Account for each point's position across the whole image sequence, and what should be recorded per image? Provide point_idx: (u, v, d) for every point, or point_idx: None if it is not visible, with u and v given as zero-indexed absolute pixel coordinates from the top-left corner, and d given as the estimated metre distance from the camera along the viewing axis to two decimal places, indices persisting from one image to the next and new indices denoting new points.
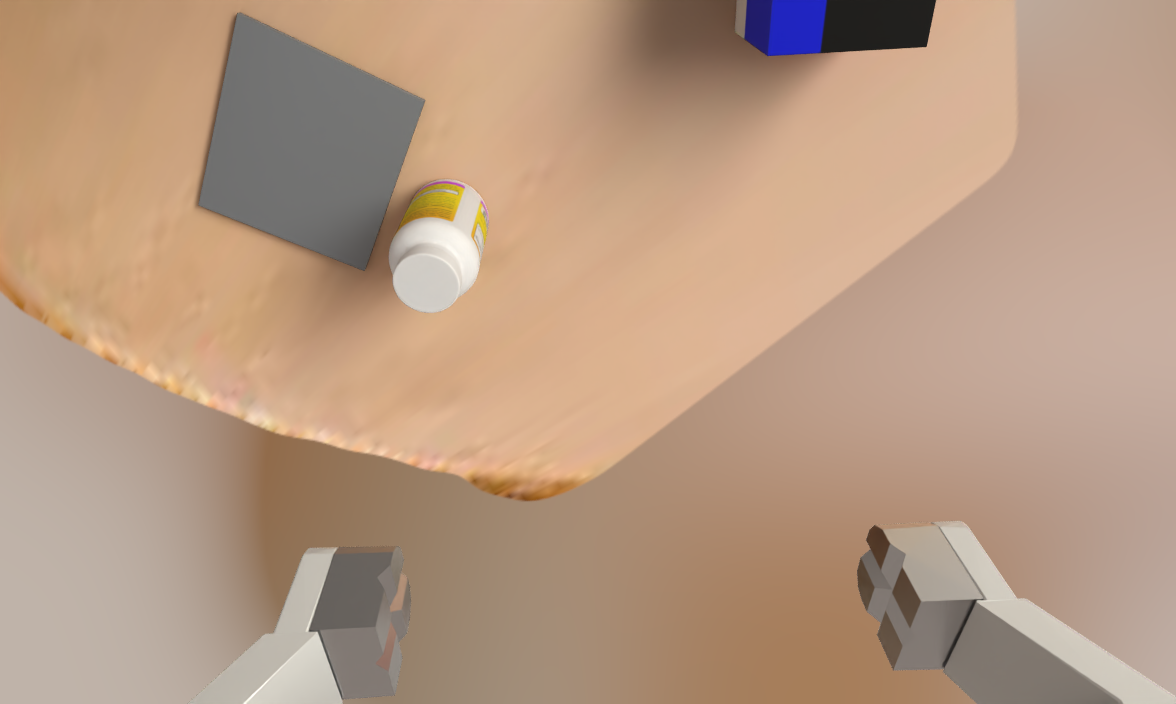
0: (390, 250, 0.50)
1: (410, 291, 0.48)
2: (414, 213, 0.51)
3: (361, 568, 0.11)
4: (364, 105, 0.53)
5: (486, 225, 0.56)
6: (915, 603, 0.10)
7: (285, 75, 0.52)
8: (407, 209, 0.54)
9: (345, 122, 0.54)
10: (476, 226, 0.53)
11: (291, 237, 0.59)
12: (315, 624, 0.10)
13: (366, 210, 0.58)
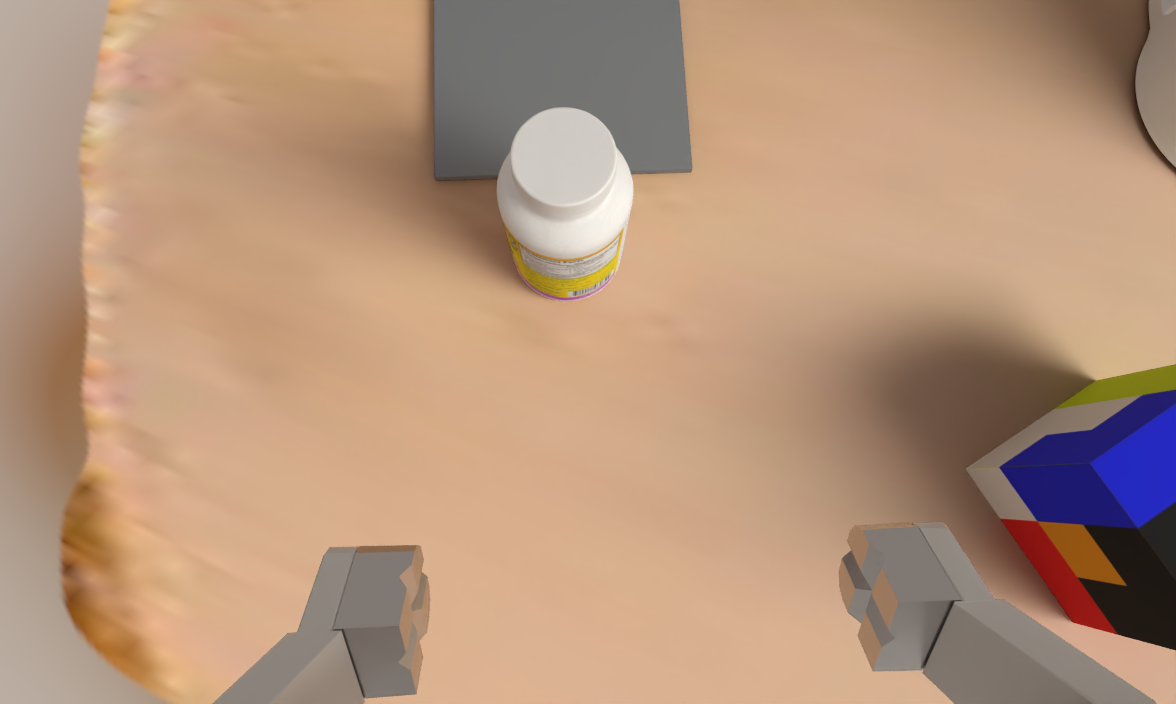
0: None
1: (539, 138, 0.30)
2: None
3: (383, 567, 0.11)
4: (651, 111, 0.44)
5: (596, 284, 0.39)
6: (893, 604, 0.10)
7: (639, 27, 0.45)
8: None
9: (621, 98, 0.44)
10: (618, 246, 0.36)
11: (440, 81, 0.44)
12: (339, 623, 0.10)
13: None
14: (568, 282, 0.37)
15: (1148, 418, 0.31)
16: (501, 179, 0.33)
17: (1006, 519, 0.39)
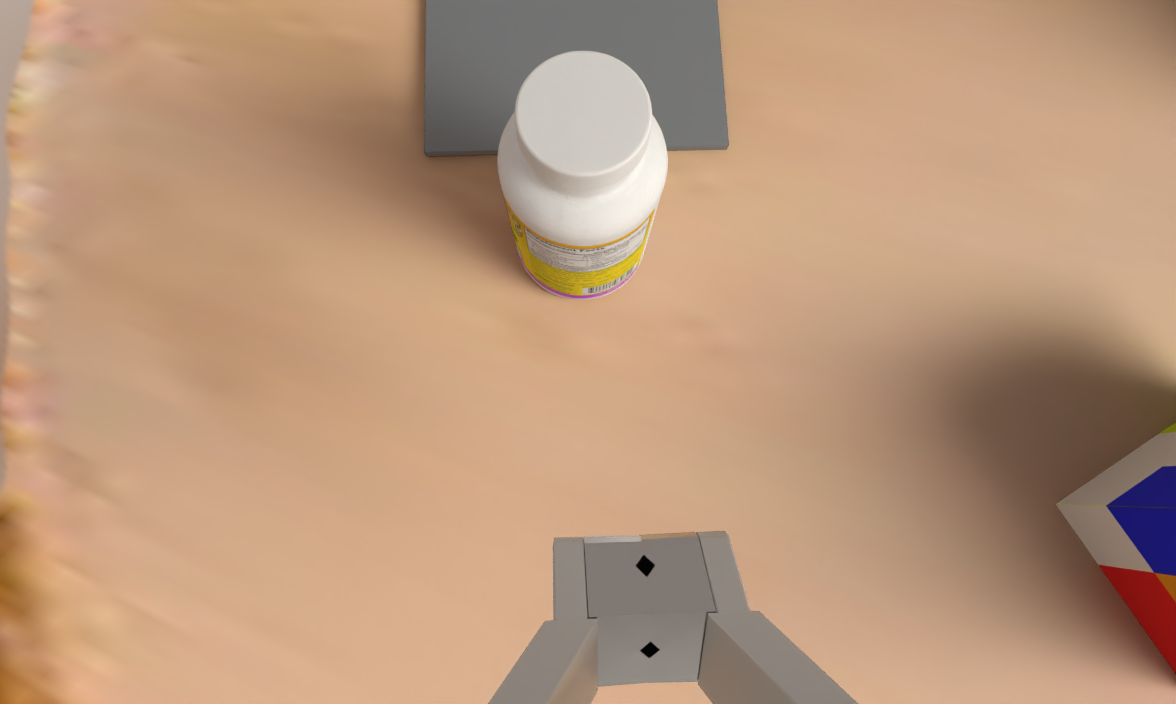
0: None
1: (553, 90, 0.23)
2: None
3: (616, 557, 0.11)
4: (680, 77, 0.37)
5: (616, 279, 0.33)
6: None
7: None
8: None
9: (645, 61, 0.37)
10: (646, 232, 0.29)
11: (433, 40, 0.37)
12: (592, 611, 0.10)
13: None
14: (583, 275, 0.30)
15: None
16: (503, 145, 0.26)
17: (1108, 566, 0.33)
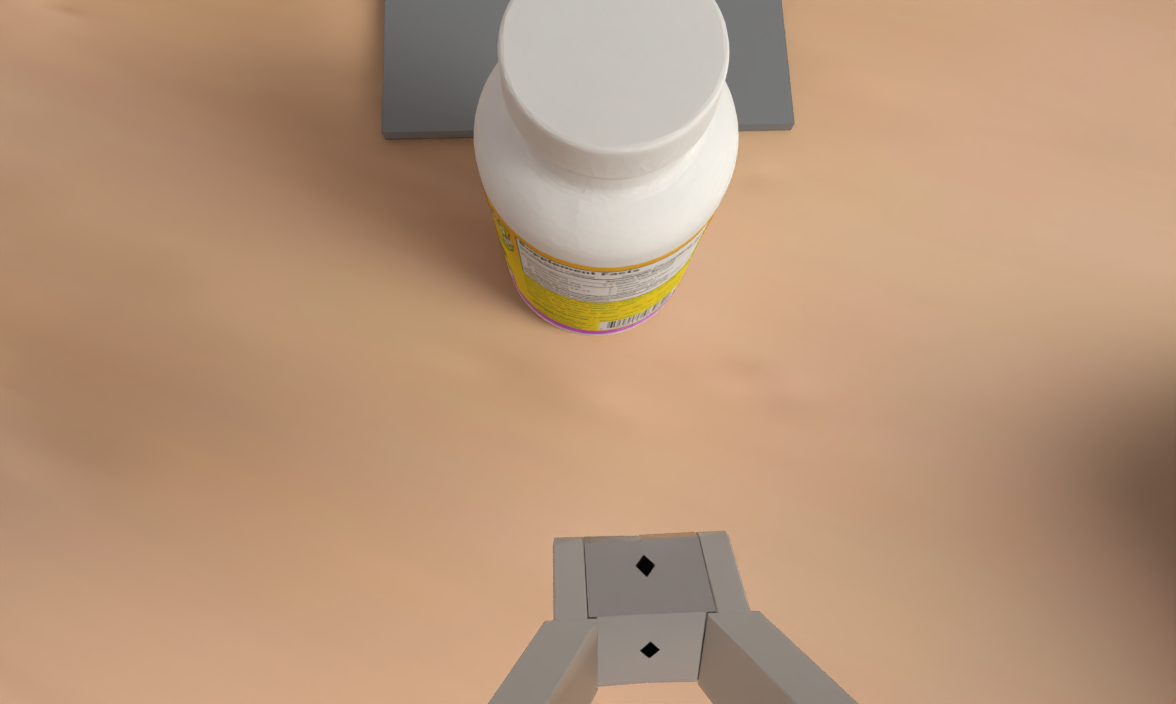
0: None
1: (562, 9, 0.14)
2: None
3: (616, 557, 0.11)
4: (728, 33, 0.28)
5: (648, 309, 0.23)
6: None
7: None
8: None
9: None
10: (696, 245, 0.20)
11: None
12: (592, 611, 0.10)
13: None
14: (602, 307, 0.21)
15: None
16: (482, 109, 0.17)
17: None
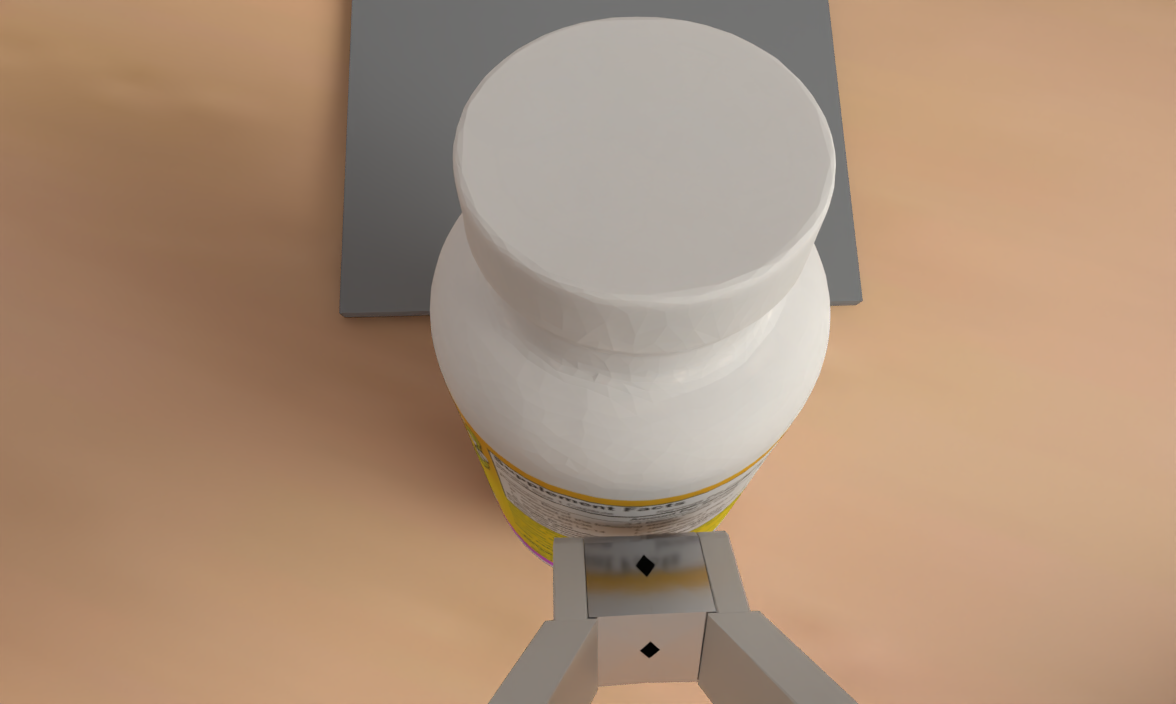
0: None
1: (560, 93, 0.09)
2: None
3: (616, 557, 0.11)
4: None
5: None
6: None
7: (750, 17, 0.23)
8: None
9: None
10: None
11: (360, 116, 0.22)
12: (592, 611, 0.10)
13: None
14: None
15: None
16: (443, 261, 0.11)
17: None
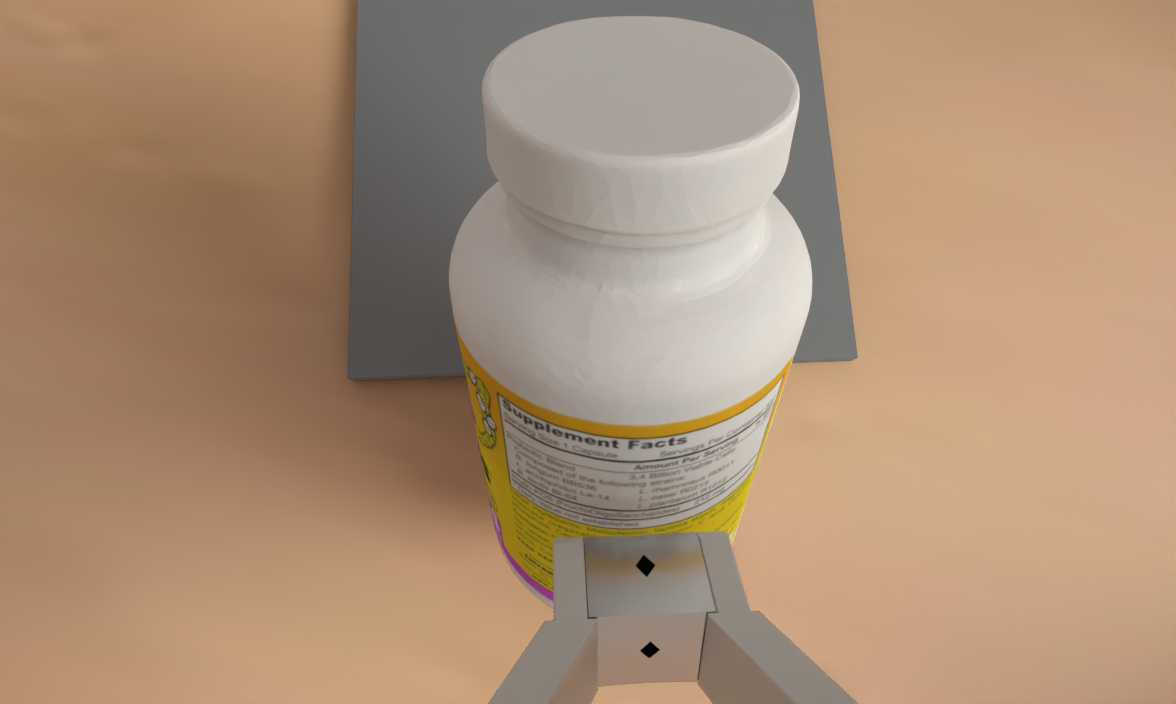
0: None
1: (571, 52, 0.11)
2: None
3: (617, 557, 0.11)
4: None
5: None
6: None
7: None
8: None
9: None
10: (763, 438, 0.14)
11: (365, 181, 0.23)
12: (592, 611, 0.10)
13: None
14: None
15: None
16: (463, 226, 0.12)
17: None
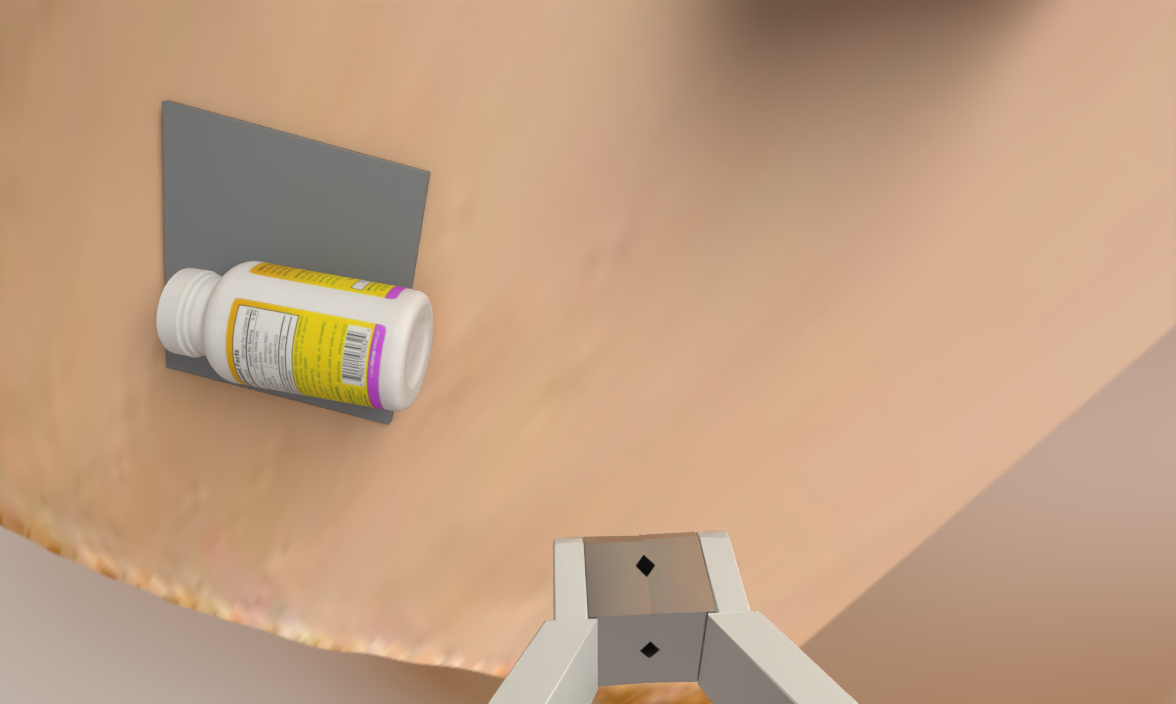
0: None
1: None
2: None
3: (616, 557, 0.11)
4: (348, 196, 0.37)
5: (345, 352, 0.34)
6: None
7: (238, 173, 0.37)
8: None
9: (327, 224, 0.38)
10: (279, 311, 0.34)
11: (287, 392, 0.43)
12: (592, 611, 0.10)
13: None
14: (303, 375, 0.34)
15: None
16: None
17: None
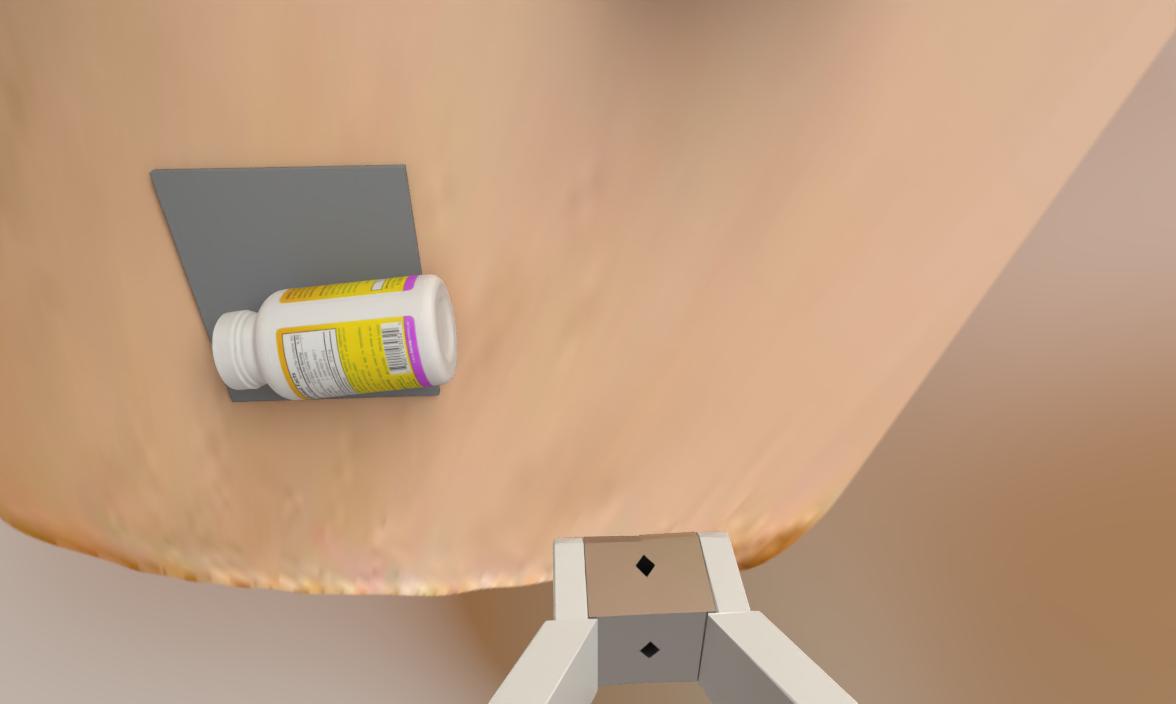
0: None
1: None
2: None
3: (616, 557, 0.11)
4: (340, 207, 0.40)
5: (385, 348, 0.38)
6: None
7: (237, 217, 0.40)
8: None
9: (329, 238, 0.41)
10: (318, 329, 0.38)
11: None
12: (592, 611, 0.10)
13: None
14: (356, 377, 0.39)
15: None
16: None
17: None
